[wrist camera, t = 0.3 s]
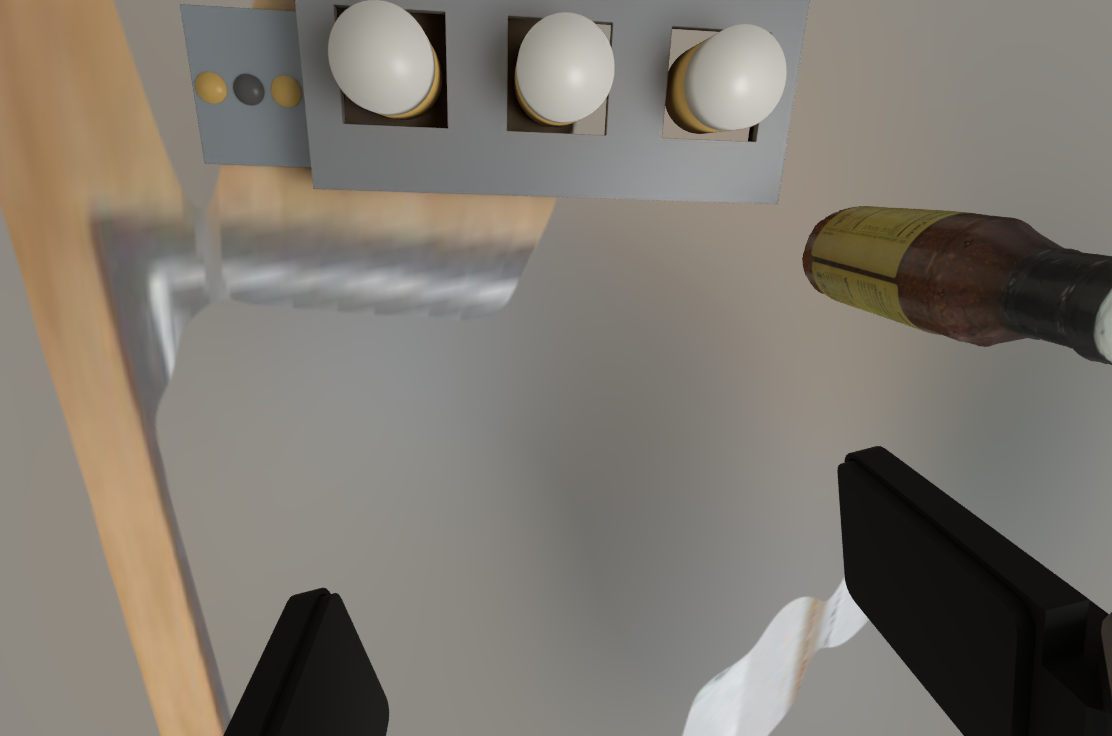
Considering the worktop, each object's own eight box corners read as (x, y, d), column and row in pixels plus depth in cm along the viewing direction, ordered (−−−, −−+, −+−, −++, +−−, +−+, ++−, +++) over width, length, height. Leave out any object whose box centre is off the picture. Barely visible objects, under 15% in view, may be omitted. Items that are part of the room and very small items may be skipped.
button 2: (667, 42, 32) (700, 20, 27) (747, 47, 33) (794, 27, 28) (659, 131, 34) (688, 127, 29) (736, 135, 34) (777, 131, 29)
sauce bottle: (877, 294, 41) (1195, 409, 22) (791, 298, 40) (1043, 418, 22) (894, 197, 39) (1263, 234, 20) (803, 199, 38) (1095, 239, 20)
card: (183, 6, 31) (178, 3, 31) (299, 13, 32) (296, 10, 31) (208, 163, 34) (203, 163, 34) (314, 167, 35) (311, 167, 34)
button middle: (514, 33, 32) (517, 8, 26) (598, 38, 32) (617, 15, 27) (513, 125, 33) (516, 119, 28) (593, 129, 34) (611, 123, 28)
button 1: (352, 23, 31) (323, -4, 26) (441, 28, 31) (430, 3, 26) (359, 118, 32) (333, 110, 27) (443, 122, 33) (433, 115, 28)
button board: (313, -51, 31) (287, -80, 27) (779, -16, 34) (815, -39, 30) (333, 185, 35) (313, 188, 31) (748, 199, 38) (777, 204, 34)
